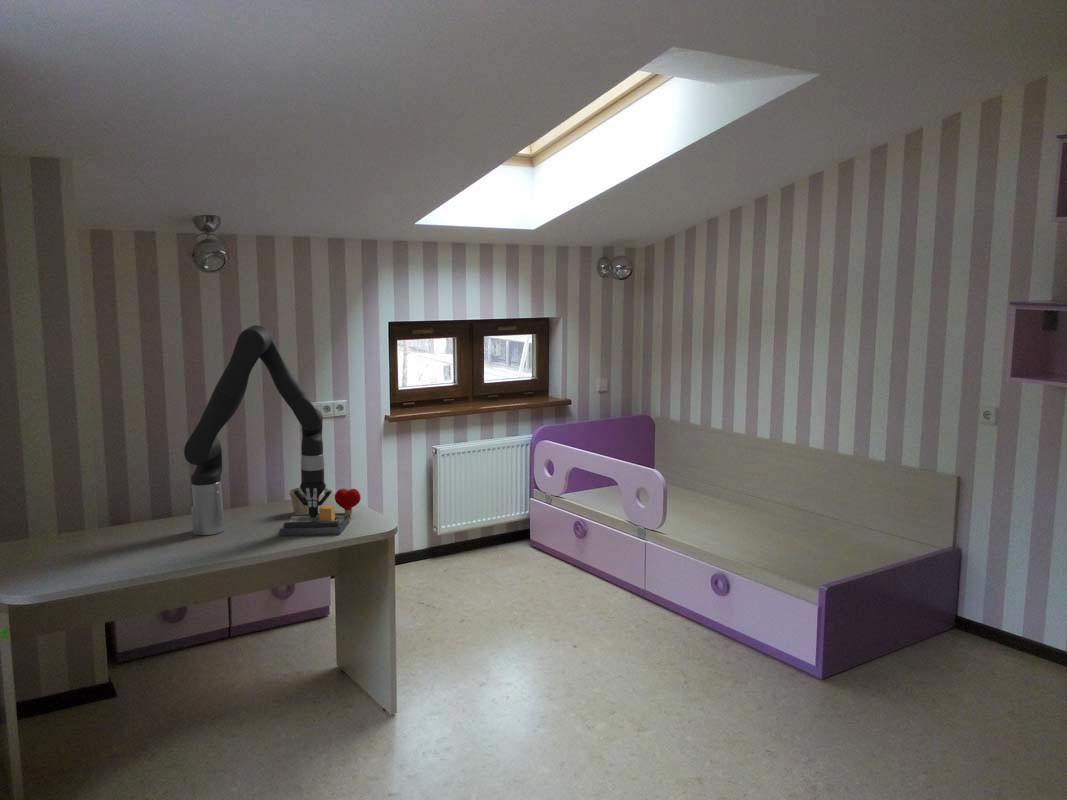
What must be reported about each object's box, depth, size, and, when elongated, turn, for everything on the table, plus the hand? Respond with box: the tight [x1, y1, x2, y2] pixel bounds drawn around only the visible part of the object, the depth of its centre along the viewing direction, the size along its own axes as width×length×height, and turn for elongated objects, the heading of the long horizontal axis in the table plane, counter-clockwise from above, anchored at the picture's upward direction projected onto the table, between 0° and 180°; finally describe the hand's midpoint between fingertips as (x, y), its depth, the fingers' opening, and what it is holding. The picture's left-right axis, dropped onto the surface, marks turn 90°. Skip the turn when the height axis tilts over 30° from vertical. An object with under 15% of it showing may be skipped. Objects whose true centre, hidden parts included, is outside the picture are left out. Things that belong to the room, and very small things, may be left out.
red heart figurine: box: [334, 488, 362, 517], centre depth 292 cm, size 9×7×10 cm
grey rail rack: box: [283, 512, 347, 528], centre depth 277 cm, size 18×12×1 cm, turn 90°
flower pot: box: [287, 487, 309, 514], centre depth 298 cm, size 9×9×9 cm
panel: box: [279, 515, 350, 537], centre depth 277 cm, size 20×14×4 cm
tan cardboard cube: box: [318, 504, 336, 521], centre depth 277 cm, size 4×5×5 cm
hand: (313, 517), depth 277 cm, fingers closed
